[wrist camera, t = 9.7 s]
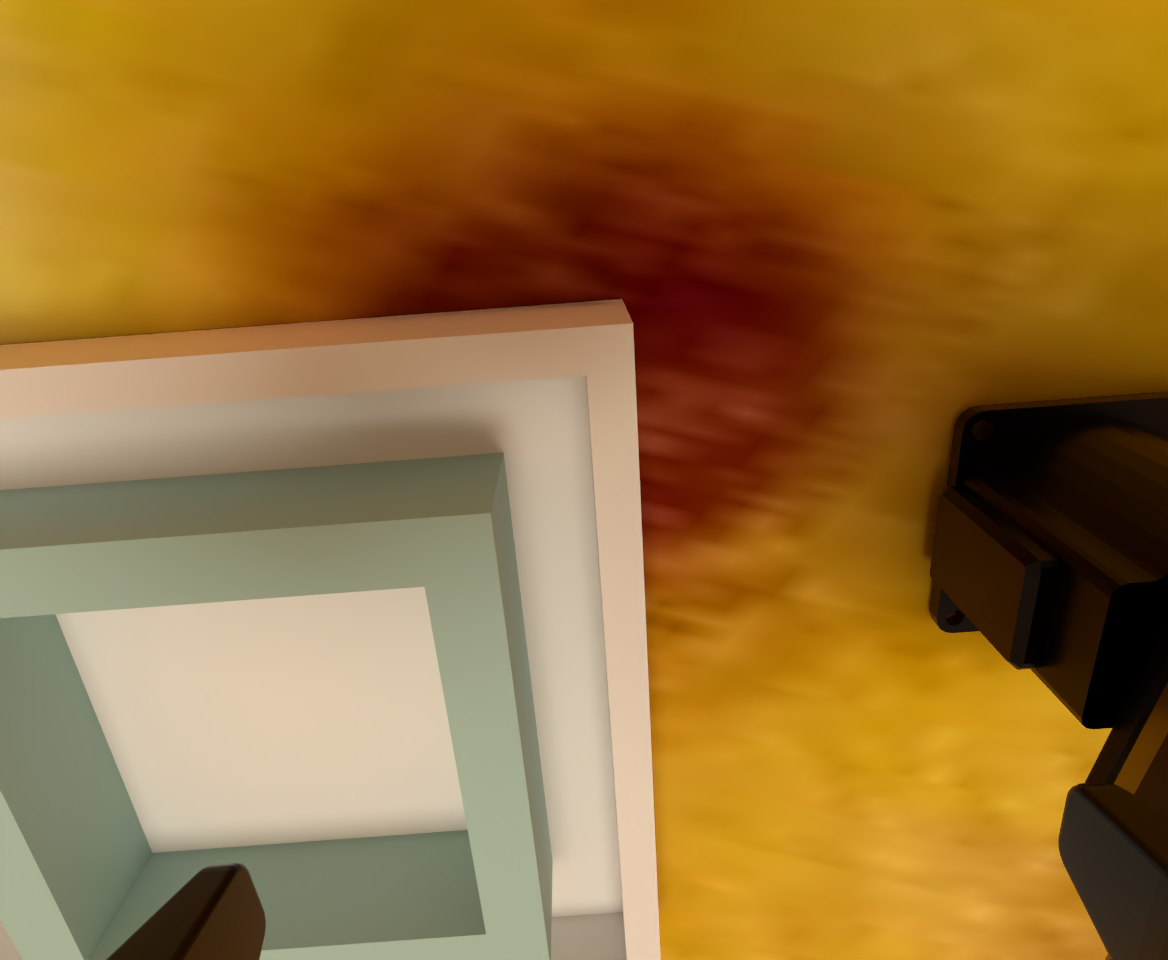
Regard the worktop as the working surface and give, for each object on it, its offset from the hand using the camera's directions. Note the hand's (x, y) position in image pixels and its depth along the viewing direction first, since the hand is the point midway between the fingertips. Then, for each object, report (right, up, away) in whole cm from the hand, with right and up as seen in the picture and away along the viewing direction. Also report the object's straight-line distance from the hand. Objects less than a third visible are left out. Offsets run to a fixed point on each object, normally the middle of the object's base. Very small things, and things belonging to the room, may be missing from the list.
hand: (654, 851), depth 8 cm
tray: (-10, -2, +14) cm, 17 cm away
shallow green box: (-9, -2, +13) cm, 16 cm away
